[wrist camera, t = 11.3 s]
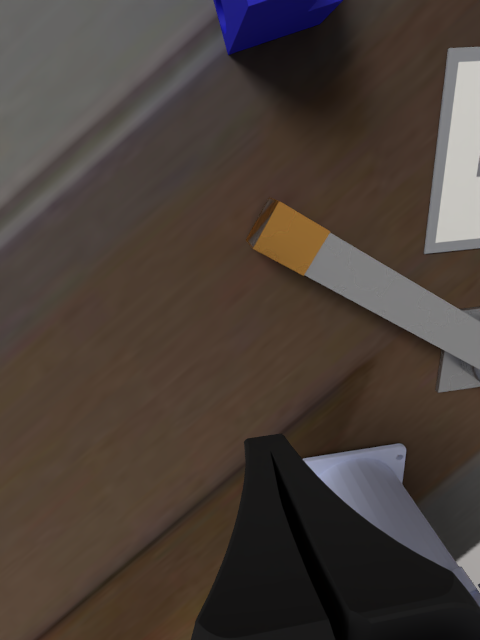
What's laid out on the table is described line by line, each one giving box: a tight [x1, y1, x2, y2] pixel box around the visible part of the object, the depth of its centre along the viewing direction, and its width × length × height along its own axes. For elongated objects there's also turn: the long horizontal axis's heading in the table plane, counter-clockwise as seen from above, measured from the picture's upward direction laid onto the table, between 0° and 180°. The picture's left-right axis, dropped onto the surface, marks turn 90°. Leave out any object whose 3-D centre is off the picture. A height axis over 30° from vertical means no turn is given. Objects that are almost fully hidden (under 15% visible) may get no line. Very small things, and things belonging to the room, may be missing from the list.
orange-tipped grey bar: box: [246, 198, 480, 382], centre depth 22 cm, size 20×4×2 cm, turn 61°
